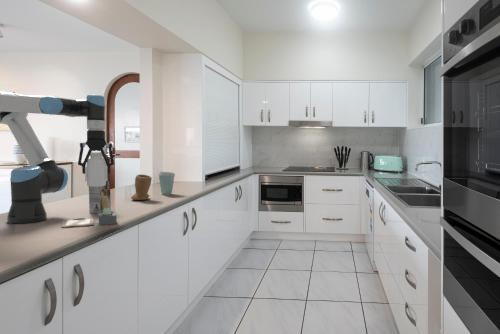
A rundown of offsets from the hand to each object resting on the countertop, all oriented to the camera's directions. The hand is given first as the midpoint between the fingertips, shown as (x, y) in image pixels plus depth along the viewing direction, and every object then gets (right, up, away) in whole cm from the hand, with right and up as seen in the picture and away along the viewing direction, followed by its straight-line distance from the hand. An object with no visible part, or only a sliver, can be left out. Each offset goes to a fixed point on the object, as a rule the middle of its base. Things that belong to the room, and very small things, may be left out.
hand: (96, 180), depth 181 cm
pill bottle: (0, -2, 0) cm, 2 cm away
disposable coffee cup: (+14, -12, +84) cm, 86 cm away
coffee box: (-5, -16, +18) cm, 25 cm away
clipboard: (-3, -18, -11) cm, 21 cm away
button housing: (+8, -18, -9) cm, 22 cm away
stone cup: (+4, -14, +60) cm, 62 cm away
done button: (+8, -15, -9) cm, 20 cm away
